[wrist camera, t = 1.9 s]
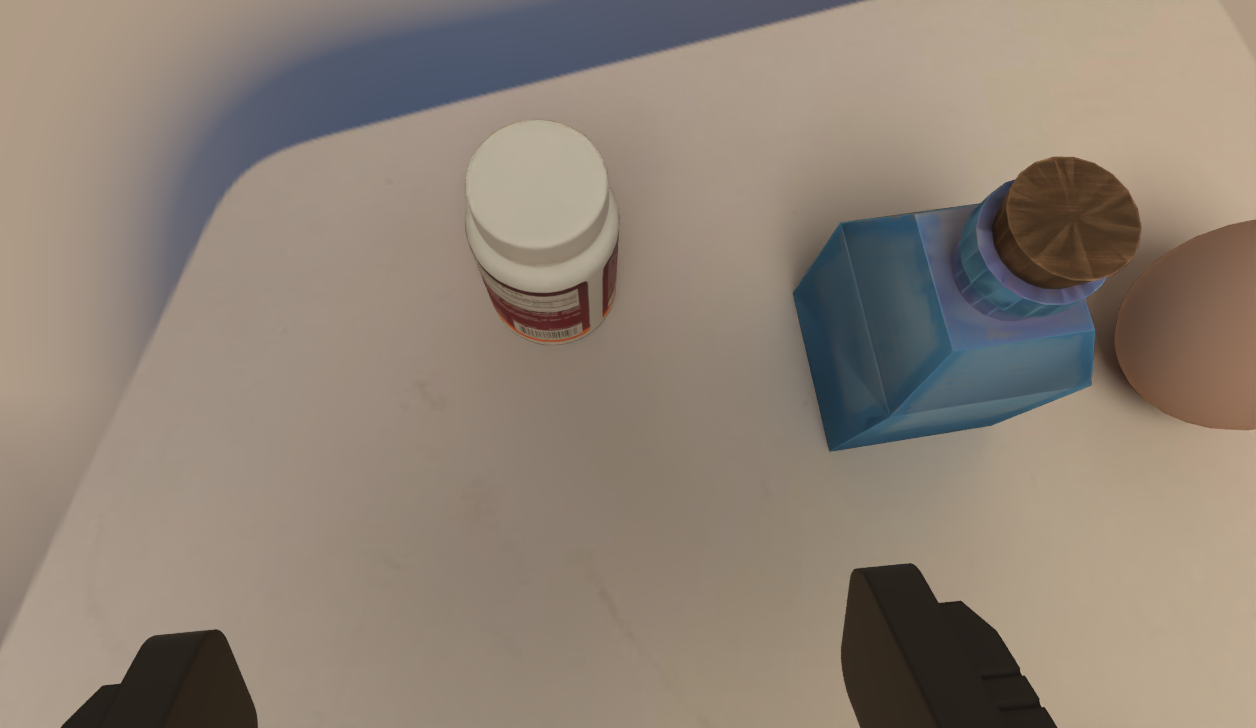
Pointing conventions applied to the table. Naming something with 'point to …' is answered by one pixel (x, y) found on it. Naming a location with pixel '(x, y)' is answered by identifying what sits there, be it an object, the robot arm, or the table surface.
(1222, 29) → the table surface
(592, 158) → the pill bottle
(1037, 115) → the table surface
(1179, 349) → the egg
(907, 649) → the robot arm
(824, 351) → the perfume bottle
